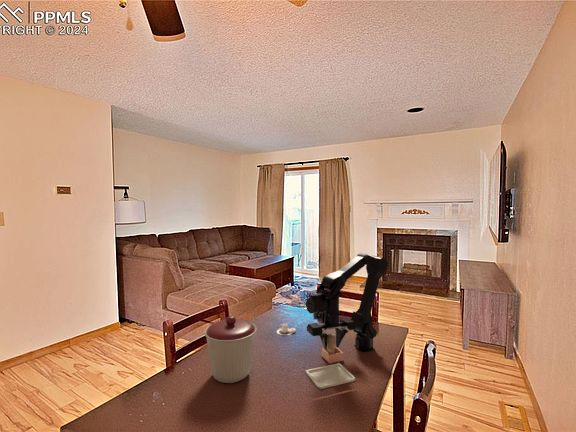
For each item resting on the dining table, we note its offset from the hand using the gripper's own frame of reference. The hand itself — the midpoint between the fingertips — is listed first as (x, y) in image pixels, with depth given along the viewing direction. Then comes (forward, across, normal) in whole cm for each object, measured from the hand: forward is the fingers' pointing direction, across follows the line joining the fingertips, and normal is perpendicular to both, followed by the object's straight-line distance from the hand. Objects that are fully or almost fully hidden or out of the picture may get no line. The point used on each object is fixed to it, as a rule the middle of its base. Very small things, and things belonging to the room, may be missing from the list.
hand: (331, 348), depth 122 cm
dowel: (+4, 0, 0) cm, 4 cm away
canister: (+5, +38, -3) cm, 39 cm away
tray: (+4, +6, +11) cm, 14 cm away
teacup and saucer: (+5, +8, -28) cm, 29 cm away
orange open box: (+4, 0, 0) cm, 5 cm away
